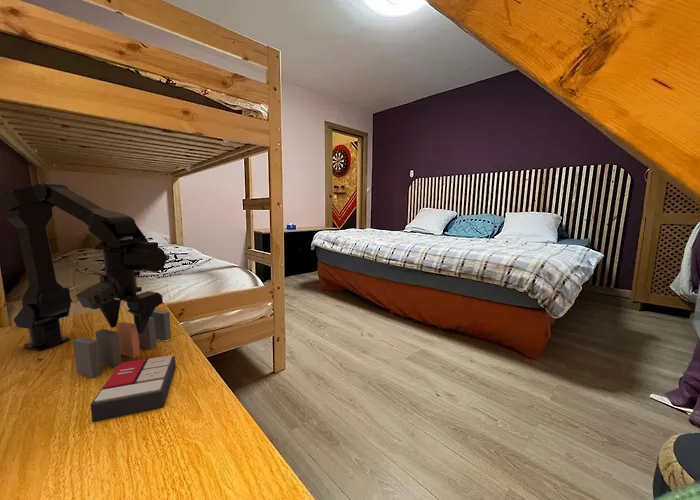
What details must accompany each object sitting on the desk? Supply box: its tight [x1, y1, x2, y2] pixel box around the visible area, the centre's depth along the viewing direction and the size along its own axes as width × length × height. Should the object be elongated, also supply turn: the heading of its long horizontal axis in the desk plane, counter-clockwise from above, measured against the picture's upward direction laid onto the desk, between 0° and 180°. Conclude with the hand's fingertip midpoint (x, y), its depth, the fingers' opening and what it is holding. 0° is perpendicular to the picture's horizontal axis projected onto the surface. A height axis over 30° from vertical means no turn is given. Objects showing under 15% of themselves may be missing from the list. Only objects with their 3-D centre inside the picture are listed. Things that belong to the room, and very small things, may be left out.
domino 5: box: [151, 308, 172, 341], centre depth 82 cm, size 5×2×8 cm, turn 72°
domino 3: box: [115, 321, 141, 358], centre depth 74 cm, size 5×2×8 cm, turn 72°
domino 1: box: [72, 336, 102, 379], centre depth 65 cm, size 5×2×8 cm, turn 72°
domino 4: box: [133, 317, 157, 350], centre depth 78 cm, size 5×2×8 cm, turn 72°
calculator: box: [90, 354, 177, 423], centre depth 61 cm, size 11×4×15 cm
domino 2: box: [95, 328, 123, 368], centre depth 69 cm, size 5×2×8 cm, turn 72°
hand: (126, 330), depth 73 cm, fingers open, 9 cm apart
